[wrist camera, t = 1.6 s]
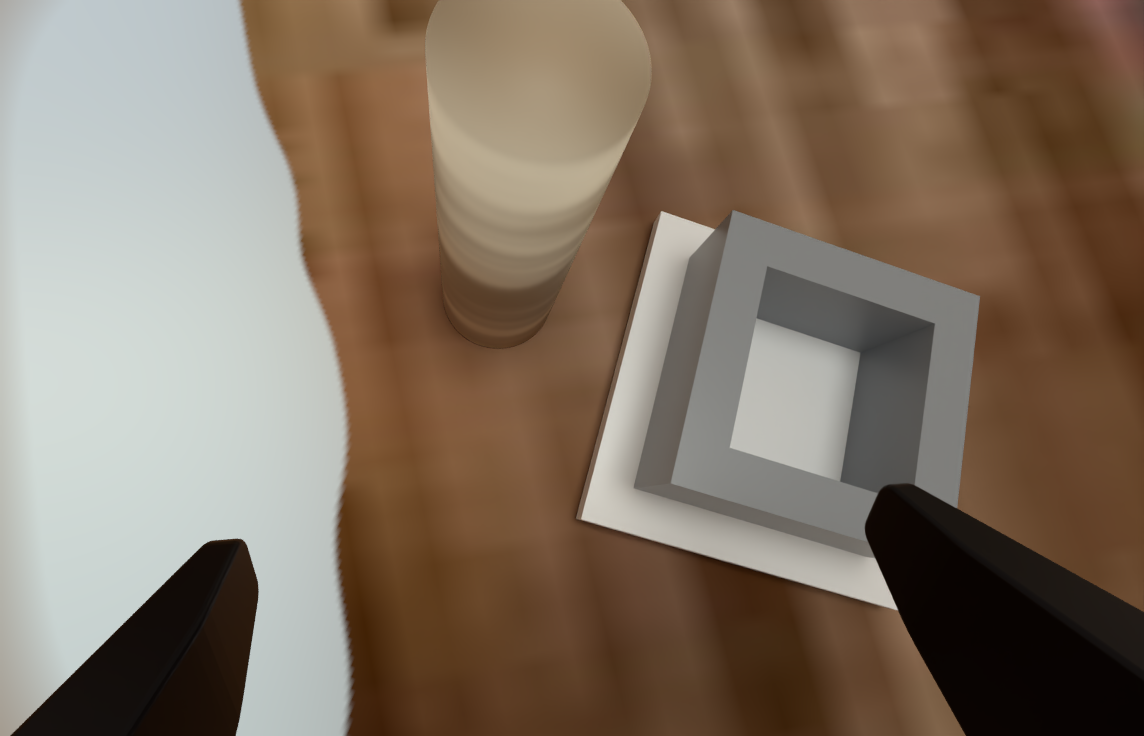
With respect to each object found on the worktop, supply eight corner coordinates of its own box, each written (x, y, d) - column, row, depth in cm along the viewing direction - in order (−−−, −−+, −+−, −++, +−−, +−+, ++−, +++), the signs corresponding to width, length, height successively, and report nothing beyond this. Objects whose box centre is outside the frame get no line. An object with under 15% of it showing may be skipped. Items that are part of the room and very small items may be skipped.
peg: (533, 362, 23) (621, 190, 11) (428, 329, 23) (392, 111, 10) (562, 265, 24) (673, 6, 12) (462, 232, 24) (466, -72, 11)
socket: (881, 606, 24) (990, 631, 19) (575, 518, 22) (607, 521, 17) (920, 314, 27) (1022, 270, 22) (653, 222, 25) (699, 155, 21)
